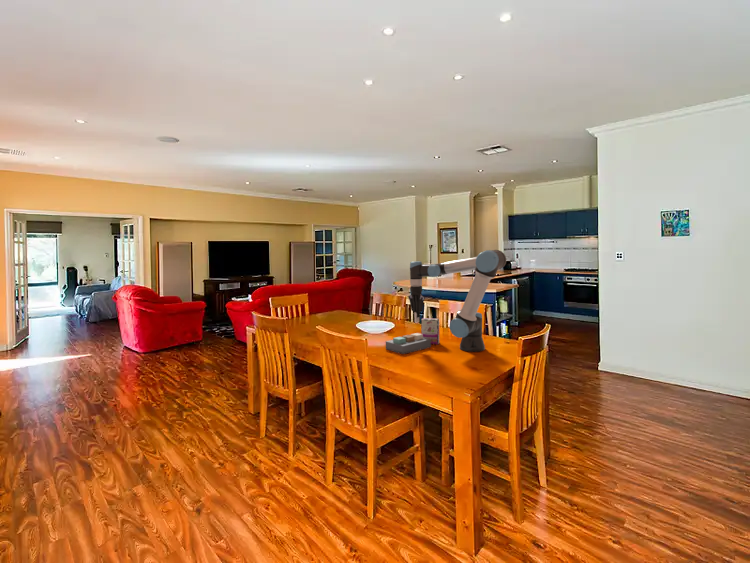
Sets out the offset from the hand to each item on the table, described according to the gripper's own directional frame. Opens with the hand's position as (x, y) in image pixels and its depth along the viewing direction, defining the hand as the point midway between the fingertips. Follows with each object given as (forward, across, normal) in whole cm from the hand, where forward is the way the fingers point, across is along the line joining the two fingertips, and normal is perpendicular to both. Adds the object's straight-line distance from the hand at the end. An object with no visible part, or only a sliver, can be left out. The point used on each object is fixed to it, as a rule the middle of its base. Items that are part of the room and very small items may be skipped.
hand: (416, 322), depth 258 cm
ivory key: (+12, 0, 0) cm, 12 cm away
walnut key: (+12, 0, +8) cm, 15 cm away
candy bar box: (+16, -1, -11) cm, 20 cm away
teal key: (+12, 0, +15) cm, 20 cm away
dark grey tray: (+16, 0, +8) cm, 17 cm away
